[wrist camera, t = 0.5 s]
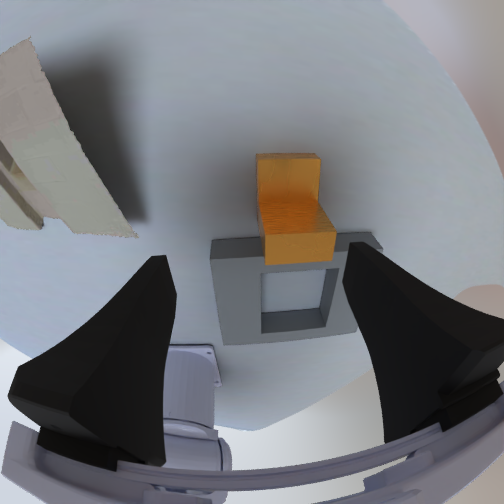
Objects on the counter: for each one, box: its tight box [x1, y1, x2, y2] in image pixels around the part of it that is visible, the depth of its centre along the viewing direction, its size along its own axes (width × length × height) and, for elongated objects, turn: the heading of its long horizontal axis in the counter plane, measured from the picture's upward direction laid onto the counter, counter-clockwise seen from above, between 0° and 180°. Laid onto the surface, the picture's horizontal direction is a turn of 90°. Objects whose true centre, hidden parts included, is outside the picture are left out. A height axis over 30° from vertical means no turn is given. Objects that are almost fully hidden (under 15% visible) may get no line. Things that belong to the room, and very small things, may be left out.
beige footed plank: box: [0, 36, 139, 238], centre depth 12 cm, size 16×9×15 cm
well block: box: [210, 232, 383, 345], centre depth 23 cm, size 10×13×2 cm
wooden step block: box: [256, 153, 337, 265], centre depth 17 cm, size 5×4×6 cm
